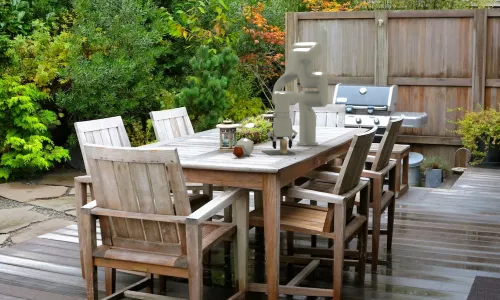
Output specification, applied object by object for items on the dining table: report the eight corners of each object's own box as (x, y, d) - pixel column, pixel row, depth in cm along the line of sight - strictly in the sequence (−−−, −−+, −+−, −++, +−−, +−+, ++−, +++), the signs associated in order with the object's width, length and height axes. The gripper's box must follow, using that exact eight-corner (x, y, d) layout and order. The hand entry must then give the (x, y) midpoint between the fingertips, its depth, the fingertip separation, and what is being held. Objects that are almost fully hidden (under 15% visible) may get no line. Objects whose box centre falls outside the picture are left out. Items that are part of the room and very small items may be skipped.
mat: (261, 151, 388) (261, 150, 388) (286, 150, 392) (286, 149, 392) (270, 155, 373) (270, 154, 373) (295, 154, 376) (295, 153, 376)
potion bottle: (250, 157, 378) (241, 164, 364) (235, 146, 379) (226, 153, 365) (259, 143, 374) (251, 150, 360) (244, 132, 375) (235, 139, 361)
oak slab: (279, 139, 380) (283, 140, 375) (283, 138, 381) (287, 140, 375) (279, 152, 381) (283, 153, 375) (283, 151, 382) (287, 153, 376)
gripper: (268, 116, 373) (268, 149, 375) (300, 115, 378) (300, 148, 380) (264, 115, 380) (264, 148, 383) (295, 114, 385) (295, 146, 387)
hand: (282, 148), depth 381 cm, fingers open, 8 cm apart
